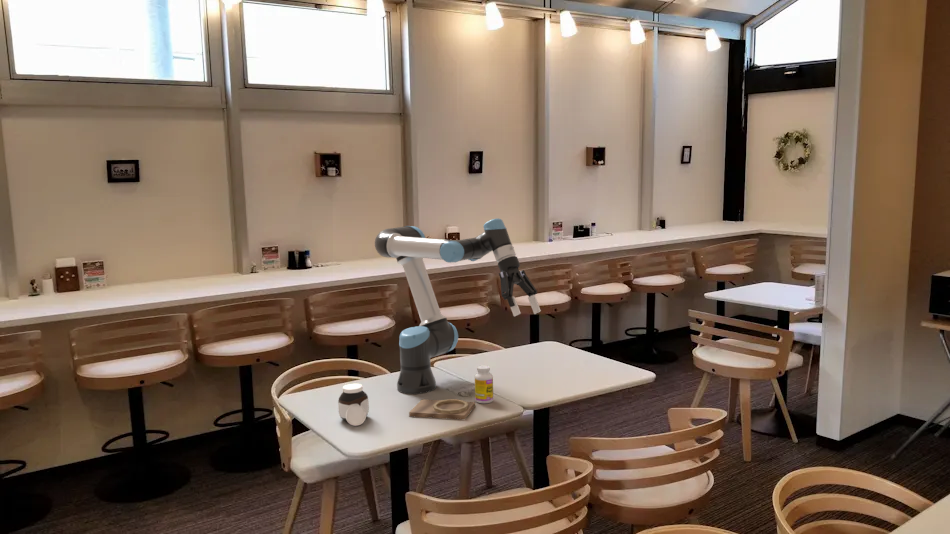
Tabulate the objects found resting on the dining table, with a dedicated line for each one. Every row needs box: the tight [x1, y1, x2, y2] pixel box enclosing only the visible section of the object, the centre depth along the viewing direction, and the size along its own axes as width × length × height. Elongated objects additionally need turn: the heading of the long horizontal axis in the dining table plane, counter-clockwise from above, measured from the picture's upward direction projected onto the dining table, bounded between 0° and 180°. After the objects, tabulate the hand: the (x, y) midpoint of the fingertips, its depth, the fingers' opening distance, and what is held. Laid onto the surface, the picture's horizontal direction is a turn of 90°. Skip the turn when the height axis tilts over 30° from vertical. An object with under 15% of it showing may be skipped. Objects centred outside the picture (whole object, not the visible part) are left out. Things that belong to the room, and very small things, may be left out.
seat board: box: [408, 398, 476, 420], centre depth 257 cm, size 20×14×2 cm
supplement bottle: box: [474, 364, 494, 404], centre depth 266 cm, size 7×7×13 cm
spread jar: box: [337, 383, 370, 427], centre depth 250 cm, size 12×11×12 cm
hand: (527, 313), depth 259 cm, fingers open, 13 cm apart
